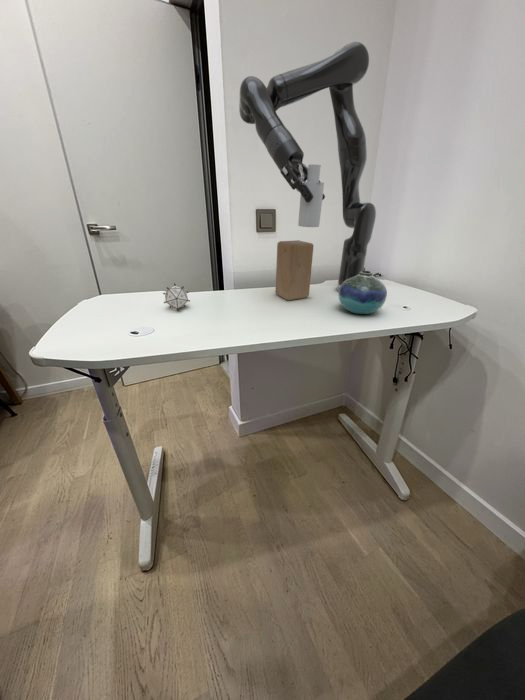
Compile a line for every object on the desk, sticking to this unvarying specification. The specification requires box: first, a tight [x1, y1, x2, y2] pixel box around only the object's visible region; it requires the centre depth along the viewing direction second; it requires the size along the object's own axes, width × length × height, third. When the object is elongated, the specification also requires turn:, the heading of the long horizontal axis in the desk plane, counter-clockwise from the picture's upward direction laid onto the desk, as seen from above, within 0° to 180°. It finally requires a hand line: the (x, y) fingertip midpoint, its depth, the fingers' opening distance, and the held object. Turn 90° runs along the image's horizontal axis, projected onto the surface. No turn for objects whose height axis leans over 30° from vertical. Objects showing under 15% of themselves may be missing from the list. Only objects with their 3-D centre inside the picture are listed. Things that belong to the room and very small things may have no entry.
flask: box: [297, 164, 325, 228], centre depth 81 cm, size 6×6×15 cm
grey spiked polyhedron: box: [162, 283, 191, 312], centre depth 96 cm, size 9×8×10 cm
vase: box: [338, 270, 388, 315], centre depth 96 cm, size 15×15×13 cm
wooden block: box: [274, 240, 315, 301], centre depth 109 cm, size 10×10×20 cm
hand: (316, 199), depth 80 cm, fingers closed on flask, 6 cm apart
